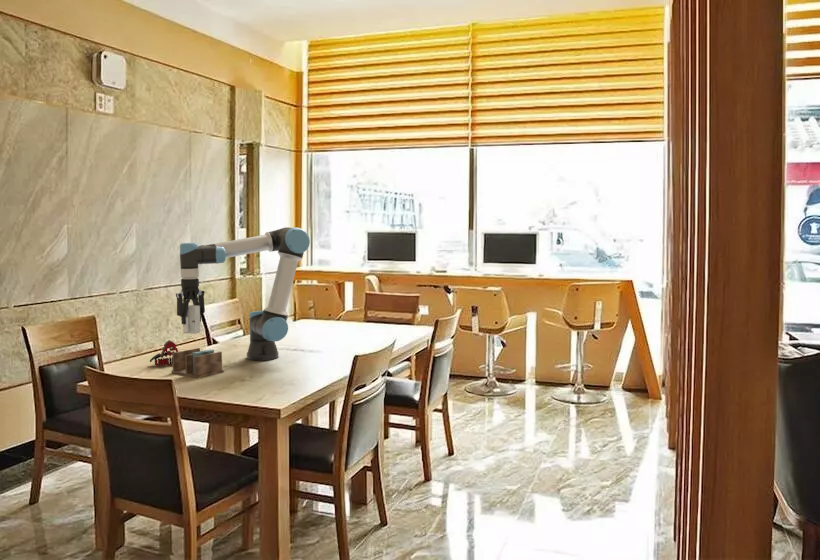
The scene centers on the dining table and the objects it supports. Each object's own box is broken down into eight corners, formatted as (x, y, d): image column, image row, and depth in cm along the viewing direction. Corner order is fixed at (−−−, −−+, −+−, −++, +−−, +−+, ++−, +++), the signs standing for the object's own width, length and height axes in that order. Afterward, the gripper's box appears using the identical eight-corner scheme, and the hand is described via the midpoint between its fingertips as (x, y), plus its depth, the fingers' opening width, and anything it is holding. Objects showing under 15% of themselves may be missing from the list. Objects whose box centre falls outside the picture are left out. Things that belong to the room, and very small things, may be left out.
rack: (197, 367, 324) (197, 345, 323) (223, 372, 313) (223, 349, 312) (171, 372, 312) (170, 350, 311) (197, 378, 302) (196, 355, 301)
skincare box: (183, 333, 312) (181, 306, 310) (189, 331, 316) (187, 304, 314) (195, 334, 310) (194, 306, 308) (201, 332, 314) (199, 305, 313)
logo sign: (150, 367, 325) (149, 343, 324) (149, 365, 328) (148, 341, 327) (191, 363, 333) (190, 339, 332) (189, 361, 336) (189, 338, 335)
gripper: (201, 276, 320) (203, 326, 322) (166, 279, 305) (168, 332, 307) (212, 276, 316) (214, 328, 318) (177, 280, 301) (179, 334, 303)
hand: (191, 330), depth 313 cm, fingers closed on skincare box, 5 cm apart
